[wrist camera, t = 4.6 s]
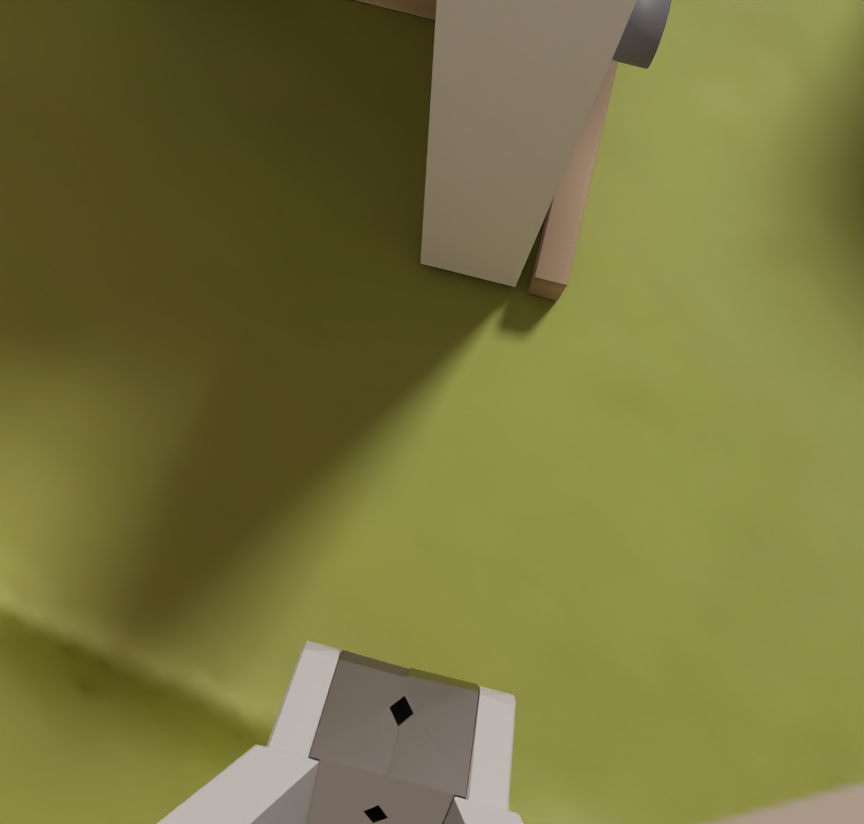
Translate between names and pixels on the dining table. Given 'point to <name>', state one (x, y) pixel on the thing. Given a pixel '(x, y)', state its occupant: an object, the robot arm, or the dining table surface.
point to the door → (515, 117)
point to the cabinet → (571, 189)
